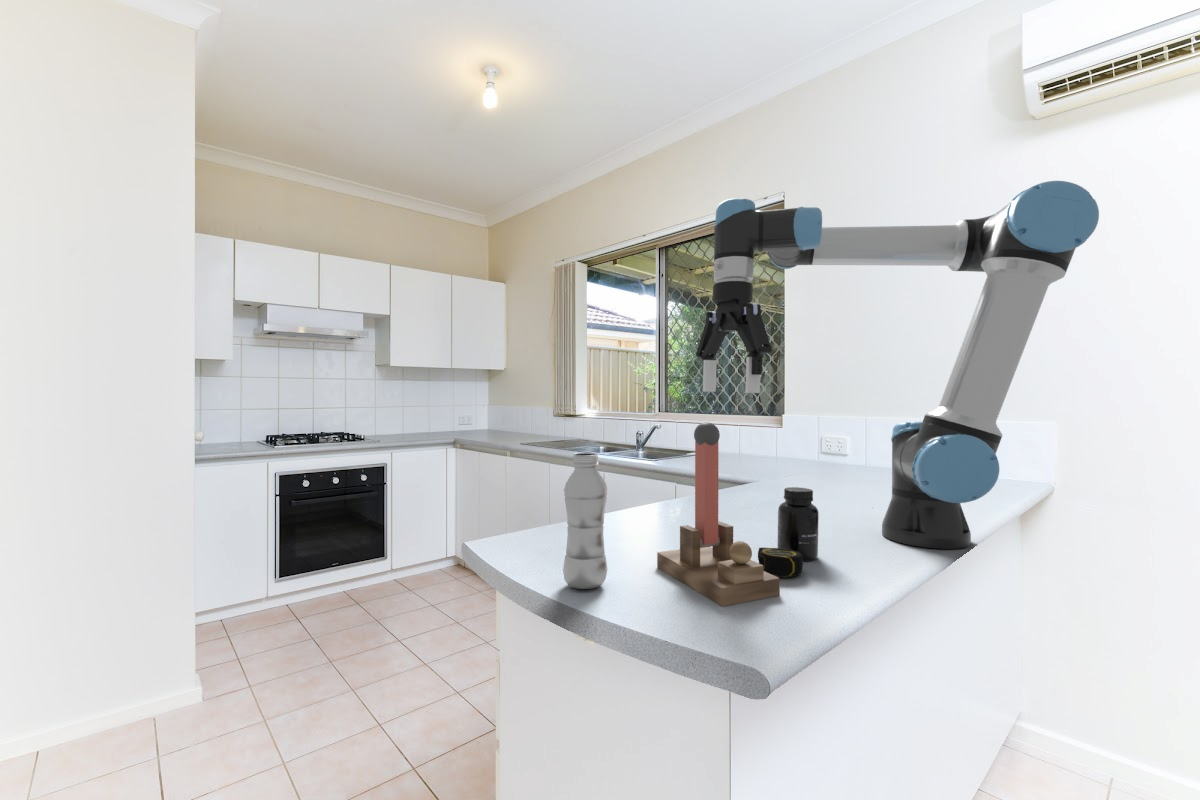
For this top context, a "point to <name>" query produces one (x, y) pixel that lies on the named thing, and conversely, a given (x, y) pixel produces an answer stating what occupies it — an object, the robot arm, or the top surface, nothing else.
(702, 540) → the lever
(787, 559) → the tape measure
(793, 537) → the supplement bottle
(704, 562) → the cracker base
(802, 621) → the top surface
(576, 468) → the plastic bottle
